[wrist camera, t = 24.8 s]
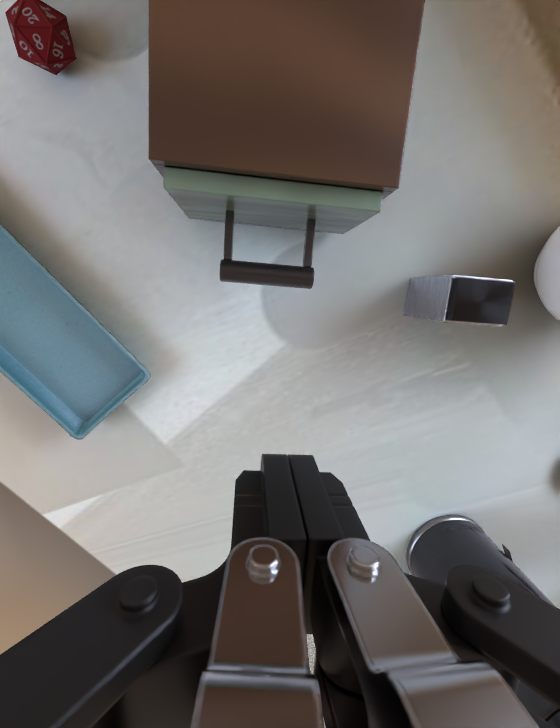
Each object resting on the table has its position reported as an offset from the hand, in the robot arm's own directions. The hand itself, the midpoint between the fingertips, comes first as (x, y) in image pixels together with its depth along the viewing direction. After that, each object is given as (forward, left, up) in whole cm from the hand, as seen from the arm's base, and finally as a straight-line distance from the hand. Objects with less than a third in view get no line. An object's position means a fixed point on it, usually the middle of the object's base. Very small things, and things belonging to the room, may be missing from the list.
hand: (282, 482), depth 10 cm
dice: (+22, +17, -23) cm, 36 cm away
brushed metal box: (+6, -16, -23) cm, 29 cm away
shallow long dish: (+4, +22, -23) cm, 32 cm away
